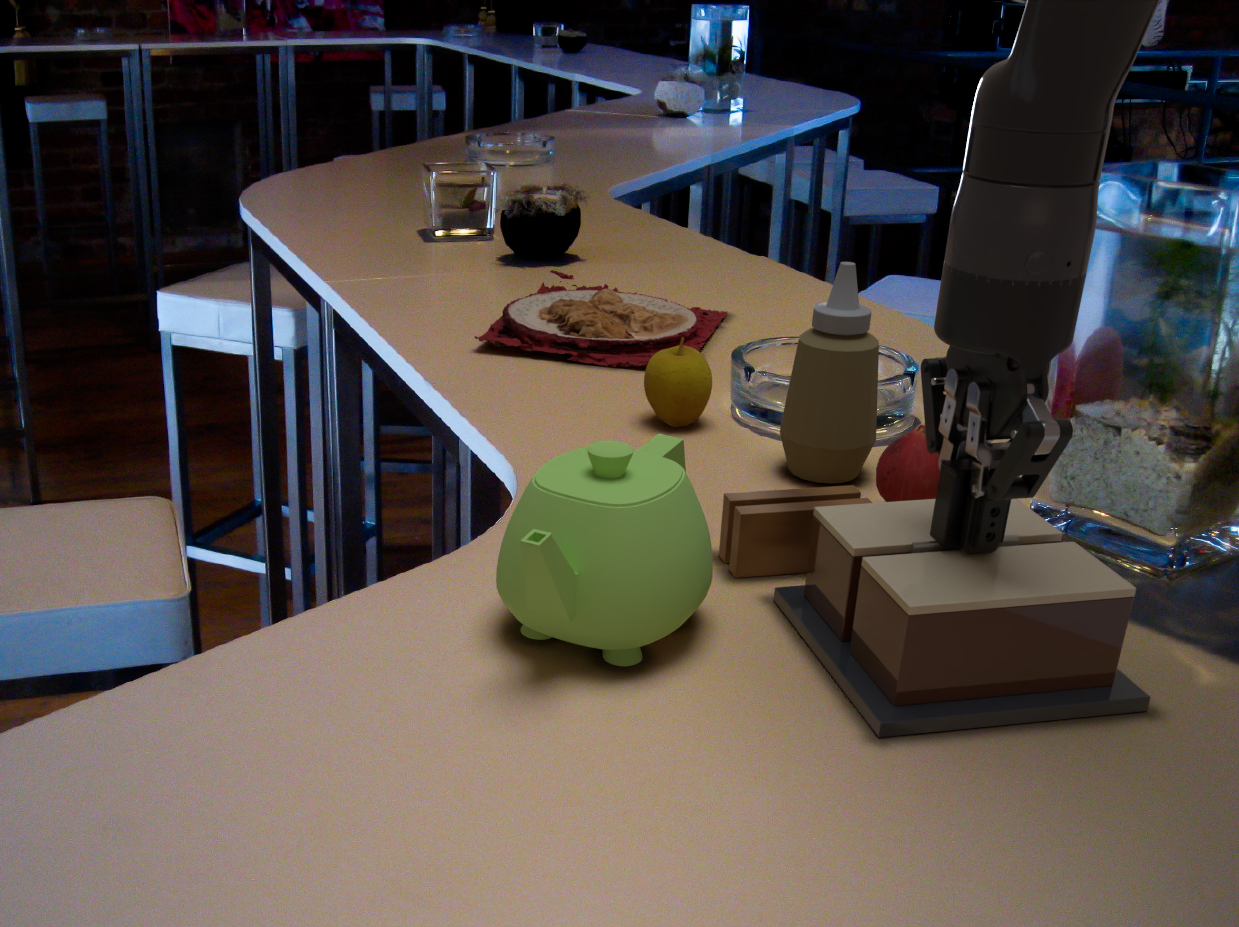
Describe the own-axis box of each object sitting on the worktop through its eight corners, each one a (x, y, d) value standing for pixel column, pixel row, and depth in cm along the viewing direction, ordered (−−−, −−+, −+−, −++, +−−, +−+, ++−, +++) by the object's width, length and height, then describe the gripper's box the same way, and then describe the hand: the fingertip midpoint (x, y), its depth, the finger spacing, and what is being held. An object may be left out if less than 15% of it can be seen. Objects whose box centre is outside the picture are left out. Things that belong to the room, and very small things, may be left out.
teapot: (620, 725, 73) (630, 527, 68) (431, 661, 79) (427, 475, 74) (754, 591, 88) (771, 421, 83) (587, 546, 95) (592, 385, 89)
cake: (1000, 582, 90) (1019, 483, 87) (1147, 711, 75) (1177, 597, 72) (773, 600, 87) (783, 498, 84) (878, 738, 72) (896, 621, 69)
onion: (870, 528, 98) (883, 431, 95) (869, 500, 103) (882, 407, 100) (948, 536, 97) (964, 438, 93) (944, 507, 102) (959, 413, 98)
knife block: (845, 545, 95) (853, 484, 93) (866, 568, 92) (875, 505, 90) (718, 555, 94) (723, 493, 91) (735, 578, 90) (741, 514, 88)
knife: (991, 627, 82) (1025, 454, 77) (1006, 640, 80) (1041, 465, 75) (890, 636, 81) (917, 461, 76) (903, 650, 79) (932, 472, 74)
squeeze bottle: (768, 454, 112) (789, 251, 105) (860, 456, 112) (887, 253, 104) (782, 489, 105) (805, 274, 97) (880, 492, 105) (911, 276, 97)
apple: (688, 408, 123) (694, 328, 120) (721, 429, 118) (728, 346, 114) (629, 416, 121) (633, 335, 118) (660, 438, 116) (665, 353, 112)
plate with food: (472, 354, 140) (472, 324, 138) (542, 294, 161) (543, 267, 160) (684, 380, 133) (686, 348, 131) (727, 313, 155) (730, 285, 153)
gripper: (1154, 287, 65) (1086, 588, 72) (1012, 232, 77) (966, 493, 84) (1019, 292, 63) (964, 597, 71) (897, 235, 76) (860, 500, 83)
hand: (965, 539), depth 78 cm, fingers closed
